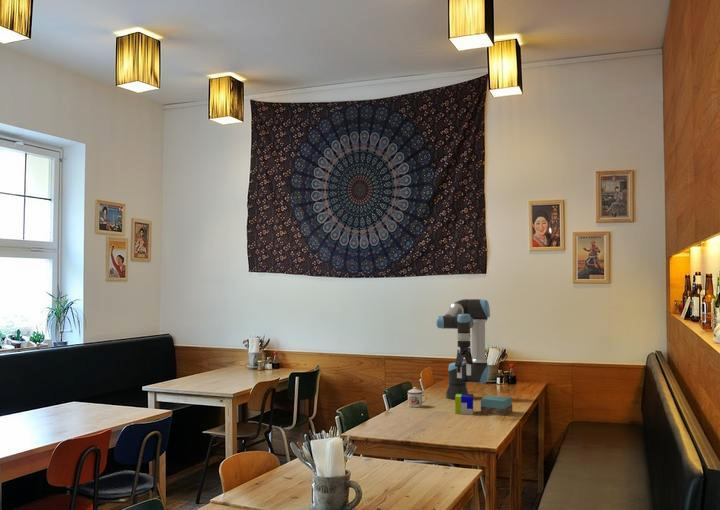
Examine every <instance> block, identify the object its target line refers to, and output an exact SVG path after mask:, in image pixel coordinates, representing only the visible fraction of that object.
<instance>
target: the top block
mask: <svg viewBox="0 0 720 510" xmlns="http://www.w3.org/2000/svg"><path fill="white" fill-rule="evenodd" d="M511 405H512V406H513V397H512V396H503V395H502V396H501V395H492V394H491V395H490V394H488V395H486V396H484V397H482V398H481V399H480V408H481V407H490V408H499V409H505V408H507V407H509V406H511Z"/></svg>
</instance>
